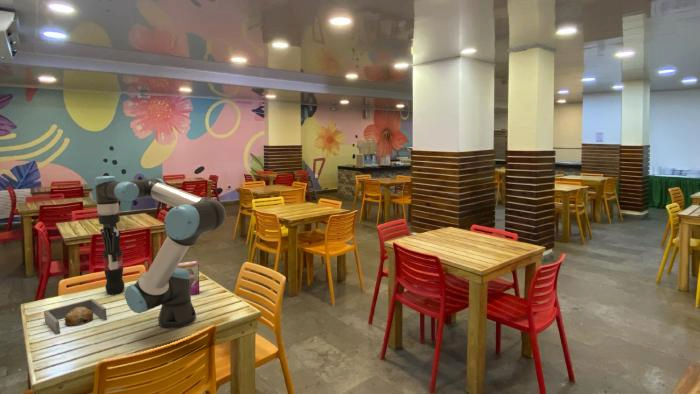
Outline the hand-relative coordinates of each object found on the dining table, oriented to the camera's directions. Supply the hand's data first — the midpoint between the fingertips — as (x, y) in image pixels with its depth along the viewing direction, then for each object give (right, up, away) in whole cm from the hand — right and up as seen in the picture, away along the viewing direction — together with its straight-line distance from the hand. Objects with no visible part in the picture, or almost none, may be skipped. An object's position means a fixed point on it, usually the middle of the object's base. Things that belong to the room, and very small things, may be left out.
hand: (113, 268), depth 173 cm
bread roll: (-18, -24, +5) cm, 30 cm away
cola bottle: (-21, -19, +38) cm, 47 cm away
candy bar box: (+17, -19, +35) cm, 44 cm away
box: (-19, -23, +5) cm, 30 cm away
